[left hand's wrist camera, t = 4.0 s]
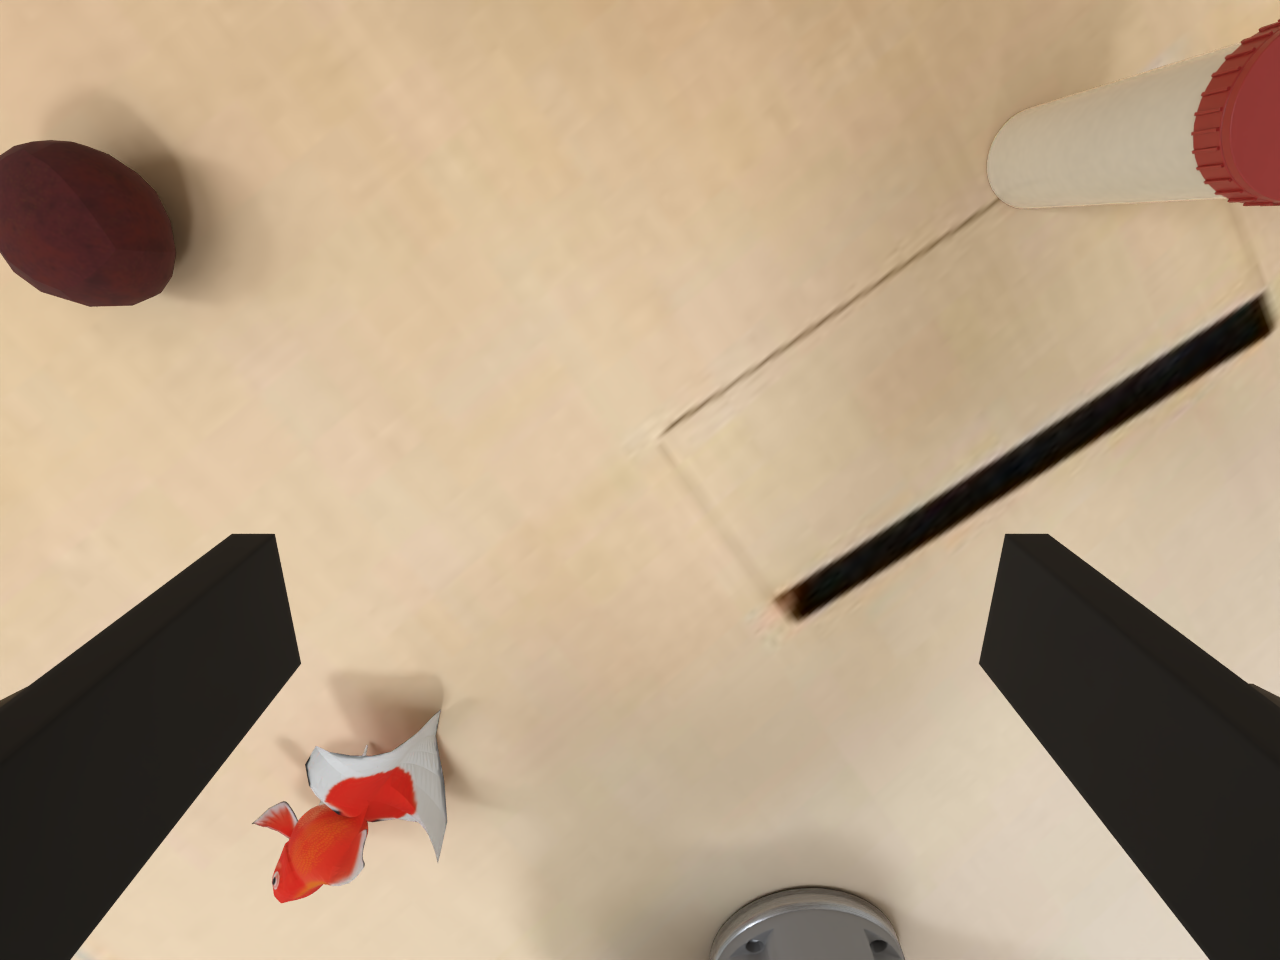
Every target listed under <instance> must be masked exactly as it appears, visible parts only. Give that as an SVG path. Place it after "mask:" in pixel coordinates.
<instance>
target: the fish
mask: <svg viewBox="0 0 1280 960" xmlns="http://www.w3.org/2000/svg"><path fill="white" fill-rule="evenodd" d="M440 712H441V710H440V711H439V712H437V713H436V714H435V715H434V716H433V717H432V718H431V719H430V720H429V721H428V722H427V723H426V724H425V725H424V726H423V727H422V728H421V729H420V730H419V732H418V733H416V734H415V735H414V736H412V737H411V738H410V739H408V740H407V741H406V742H404V743H403V744H402V745H400V746H399V747H397V748H396V749H394V750H393V751H392V752H388V753H384V754H379V755H374V756H366V752H367V747H368V745H366V747H365V750H364V752H363V755H362V756H350V755H344V754H337V753H331V752H328V751H326V750H324V749H322V748H320V747H317V746H316V747H315V749H314V750H313V752H312V754H311V756H310V757H309V759H308V761H307V762H306V764H305V766H306V771H307V777H308V782H309V786H310V787H311V789H312V790H313V792H314V793H315V795H316V796H317V797H318V798H319V799H320V800H321V802H320V804H319V806H316V807H314V808H312V809H310V810H309V811H308V812H306V813H305V814H304V815H303V816H302V817H301V818H300V819H299V821H298V820H297V818H296V816H295V813H294V812H293V810H292V808H291V807H290V806H289V804H288V803H287V802H281V803H278V804H276V805H275V806H273V807H271V808H269V809H268V810H267V811H265V812H264V813H263V814H262V815H261V816H260V817H259V818H258V819H257V820H256V821H255V822H253V823H252V824H257V825H259V826H262V827H268V828H270V829H272V830H276V831H278V832H280V833H281V834H283V835H284V836H286V837H288V838H289V841H288V842H287V843H286V844H285V846H284V848H283V851H282V854H281V856H280V859H279V861H278V863H277V866H276V868H275V871H274V874H273V879H272V885H273V891H274V896H275V897H276V899H277V900H278V901H279V902H280V903H284V902H288V901H293V900H298V899H301V898H304V897H307V896H309V895H311V894H313V893H314V892H315V891H317V890H318V889H319V888H320V887H321V886H322V885H323V884H325V885H326V884H327V885H331V886H340V885H343V884H347V883H350V882H351V881H352V880H353V879H355V878H356V877H357V876H358V874H359V873H360V872H361V871H362V869H363V868H364V865H365V863H364V861H363V848H364V844H365V840H366V837H367V834H368V823H367V821H369V822H376V821H384V820H391V819H402V820H407V821H415V822H419V823H420V824H421V825H422V827H423V828H424V829H425V830H426V832H427V833H428V835H429V838H430V840H431V842H432V844H433V847H434V850H435V853H436V857H437V862H438V861H439V856H440V851H441V847H442V842H443V838H444V833H445V829H446V824H447V813H446V799H445V786H444V778H443V772H442V767H441V762H440V757H439V751H438V745H437V739H436V732H437V727H438V721H439V715H440Z"/></svg>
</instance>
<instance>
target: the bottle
mask: <svg viewBox="0 0 1280 960" xmlns="http://www.w3.org/2000/svg"><path fill="white" fill-rule="evenodd" d="M1240 45H1241V42H1239V43H1236V44H1233V45H1229V46H1226V47H1223V48H1220V49H1216V50H1213V51H1210V52H1207V53H1204V54H1200V55H1197V56H1194V57H1191V58H1188V59H1184V60H1181V61H1178V62H1175V63H1171V64H1168V65H1165V66H1162V67H1159V68H1155V69H1152V70H1149V71H1146V72H1142V73H1139V74H1136V75H1133V76H1130V77H1126V78H1123V79H1120V80H1117V81H1114V82H1110V83H1107V84H1104V85H1101V86H1097V87H1094V88H1091V89H1088V90H1085V91H1081V92H1078V93H1075V94H1072V95H1068V96H1065V97H1062V98H1059V99H1056V100H1052V101H1049V102H1046V103H1043V104H1040V105H1036V106H1033V107H1030V108H1027V109H1025V110H1023V111H1021V112H1019V113H1017V114H1016V115H1014V116H1013V117H1012V118H1010V119H1009V120H1008V121H1007V122H1006V123H1005V124H1004V125H1003V126H1002V128H1001V129H1000V130H999V132H998V133H997V135H996V136H995V138H994V140H993V142H992V145H991V147H990V150H989V154H988V160H987V175H988V179H989V183H990V185H991V188H992V190H993V191H994V193H995V194H996V195H997V197H998V198H999V199H1000V200H1002V201H1003V202H1004V203H1006V204H1007V205H1010V206H1012V207H1015V208H1020V209H1034V208H1054V207H1073V206H1093V205H1112V204H1132V203H1151V202H1171V201H1190V200H1210V199H1228V198H1226V197H1224V196H1222V195H1215V194H1214V193H1215V192H1216V191H1215V190H1214V189H1213V188H1212V187H1211V186H1210V185H1209V184H1204V181H1205V179H1204V178H1203V176H1202V175H1201V173H1200V170H1198V171H1197V170H1196V167H1198V166H1197V163H1196V160H1195V155H1194V154H1192V151H1193V150H1194V149H1193V136H1191V132H1193V130H1194V122H1195V118H1196V116H1194V114H1195V112H1197V110H1198V107H1199V104H1200V101H1201V98H1202V96H1201V94H1202V92H1205V90H1206V88H1207V86H1208V84H1209V82H1210V81H1211V79H1212V77H1211V75H1212V74H1213V73H1214V72H1216V71H1217V70H1218V69H1219V67H1220V66H1221V65H1222V64H1223V62H1224V61H1225V60H1226V59H1225V57H1226V56H1227V55H1229V54H1232V53H1233V52H1234V51H1235V50H1236V49H1237V48H1238V47H1239V46H1240Z"/></svg>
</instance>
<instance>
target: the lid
mask: <svg viewBox="0 0 1280 960" xmlns="http://www.w3.org/2000/svg"><path fill="white" fill-rule="evenodd" d="M1225 59H1226V60H1225V61H1224V62H1223V64H1222V65H1221V66H1220V67H1219V69H1218V70H1217V71H1216V72H1214V73H1213V74H1212V75H1211V77H1212V79H1211V81H1210V82H1209V84H1208V86H1207V88H1206V90H1205V92H1202V94H1201V96H1202V98H1201V101H1200V104H1199V107H1198V110H1197V112H1195V114H1194V116H1196V118H1195V122H1194V130H1193V132H1191V136H1193V149H1194V150H1193V151H1192V154H1194V155H1195V160H1196V163H1197V166H1198V167H1196V170H1197V171H1198V170H1200V173H1201V175H1202V176H1203V178H1204V179H1205V181H1204V184H1209V185H1210V186H1211V187H1212V188H1213V189H1214V190H1215V191H1216V192H1215V193H1214V194H1215V195H1222V196H1224V197H1226V198H1228V199H1229V200H1228V202H1240V203H1244V204H1243V206H1279V205H1280V19H1279V20H1278V22H1277V23H1274V24H1270V25H1267V26H1264V27H1262V28H1260V29H1259V32H1258V33H1257V34H1255V35H1253V36H1252V37H1250V38H1247V39H1244V40H1242V41H1241V45H1240V46H1239V47H1238V48H1237V49H1236V50H1235V51H1234V52H1233V53H1232V54H1229V55H1227V56H1226V57H1225Z"/></svg>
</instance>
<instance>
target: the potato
mask: <svg viewBox="0 0 1280 960" xmlns="http://www.w3.org/2000/svg"><path fill="white" fill-rule="evenodd" d="M0 253H1V254H2V256H3V257H4V259H5V260H6V262H7V263H8V264H9V266H10V267H11V269H12V270H13V272H15V273H16V274H17V275H19V276H20V277H21V278H23V279H24V280H26V281H27V282H28V283H30V284H31V285H32V286H34V287H35V288H37V289H38V290H39V291H41V292H44V293H47V294H50V295H54V296H57V297H60V298H63V299H67V300H70V301H73V302H76V303H80V304H83V305H86V306H90V307H92V306H131V305H135V304H137V303H139V302H142V301H144V300H146V299H149V298H151V297H153V296H155V295H157V294H160V293H161V292H162V291H163V289H164V288H165V286H166V285H167V283H168V282H169V280H170V279H171V277H172V274H173V268H174V262H175V256H176V250H175V245H174V239H173V233H172V227H171V222H170V220H169V218H168V215H167V213H166V211H165V209H164V207H163V205H162V203H161V201H160V199H159V197H158V195H157V193H156V191H155V190H154V189H153V188H152V187H151V186H150V185H149V184H148V183H146V182H145V181H144V180H143V179H142V178H141V177H140V176H139V175H138V174H137V173H136V172H134V171H133V170H131V169H130V168H128V167H127V166H125V165H124V164H122V163H121V162H119V161H118V160H116V159H115V158H113V157H112V156H110V155H109V154H106V153H104V152H101V151H98V150H96V149H93V148H90V147H88V146H84V145H81V144H78V143H74V142H69V141H54V140H47V141H35V142H29V143H25V144H21V145H17V146H14V147H12V148H11V149H9V150H8V151H6V152H5V153H3V154H2V155H0Z"/></svg>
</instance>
